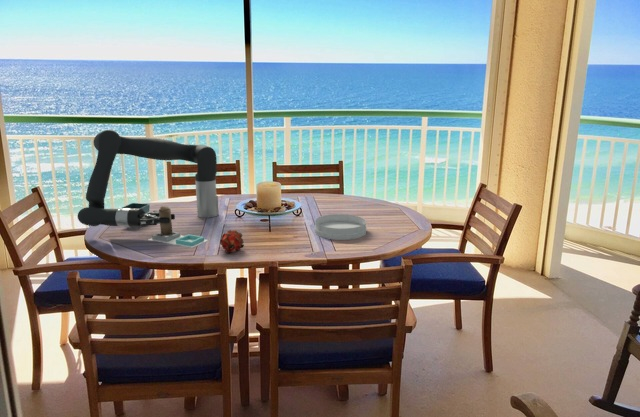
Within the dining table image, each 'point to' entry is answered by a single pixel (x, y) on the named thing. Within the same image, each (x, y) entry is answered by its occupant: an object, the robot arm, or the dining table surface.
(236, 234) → the dragon fruit
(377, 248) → the dining table surface
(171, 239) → the frame board
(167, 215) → the jar
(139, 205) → the flower pot
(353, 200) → the dining table surface
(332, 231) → the dish
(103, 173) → the robot arm
